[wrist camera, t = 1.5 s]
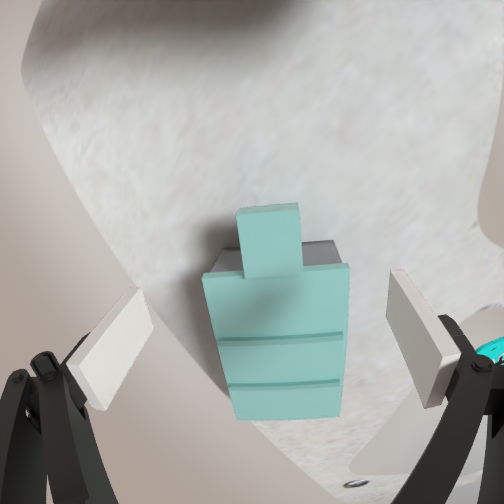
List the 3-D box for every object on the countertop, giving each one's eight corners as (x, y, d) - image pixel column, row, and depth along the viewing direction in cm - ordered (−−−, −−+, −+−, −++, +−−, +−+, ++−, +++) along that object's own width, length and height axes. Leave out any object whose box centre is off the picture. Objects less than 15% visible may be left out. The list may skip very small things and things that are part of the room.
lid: (196, 211, 24) (187, 220, 22) (343, 197, 23) (350, 205, 20) (239, 407, 33) (236, 423, 31) (337, 403, 31) (339, 419, 29)
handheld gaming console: (515, 336, 31) (493, 397, 36) (512, 332, 32) (491, 393, 37) (473, 353, 32) (455, 413, 38) (470, 348, 33) (454, 409, 39)
